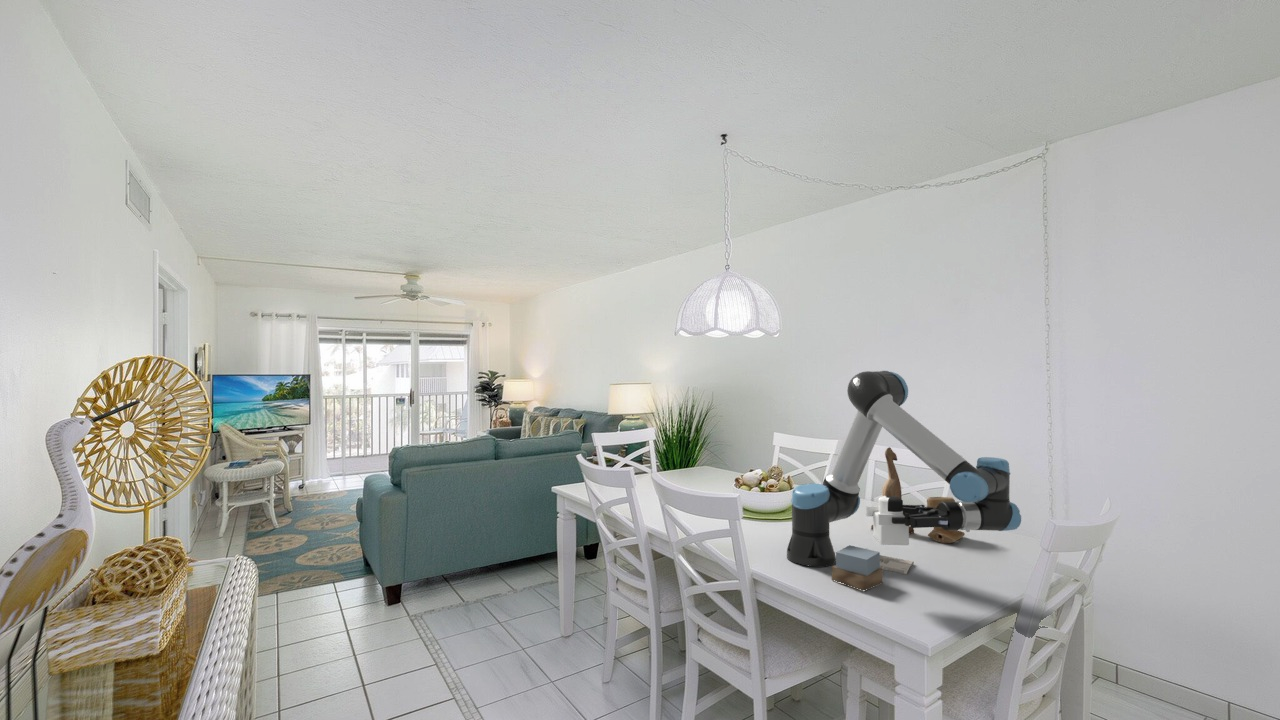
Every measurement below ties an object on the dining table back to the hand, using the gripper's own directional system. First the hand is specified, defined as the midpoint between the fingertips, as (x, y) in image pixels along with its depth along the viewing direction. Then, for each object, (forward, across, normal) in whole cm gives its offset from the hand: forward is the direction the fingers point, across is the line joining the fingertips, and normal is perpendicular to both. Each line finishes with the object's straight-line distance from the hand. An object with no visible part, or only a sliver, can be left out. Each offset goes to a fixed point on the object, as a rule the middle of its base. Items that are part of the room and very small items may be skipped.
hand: (872, 515), depth 152 cm
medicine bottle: (-5, 0, -7) cm, 9 cm away
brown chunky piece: (-46, +52, -22) cm, 73 cm away
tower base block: (+1, +10, -22) cm, 25 cm away
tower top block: (0, +10, -18) cm, 21 cm away
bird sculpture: (-31, +60, -22) cm, 71 cm away
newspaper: (-11, +28, -23) cm, 38 cm away
